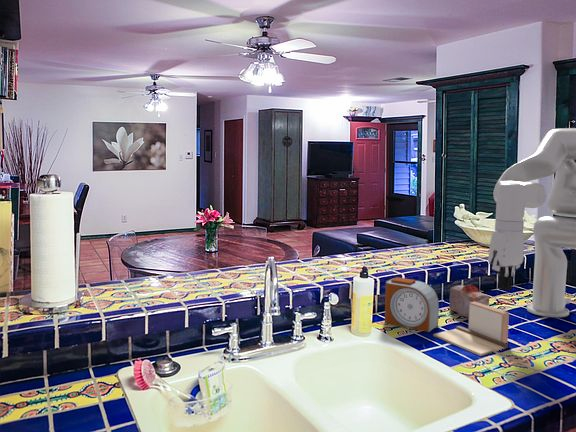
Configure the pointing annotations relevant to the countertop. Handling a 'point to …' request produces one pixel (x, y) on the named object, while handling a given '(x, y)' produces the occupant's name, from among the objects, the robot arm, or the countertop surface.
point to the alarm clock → (411, 304)
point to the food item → (465, 299)
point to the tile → (488, 321)
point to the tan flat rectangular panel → (468, 342)
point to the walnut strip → (483, 336)
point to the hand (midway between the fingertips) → (504, 289)
